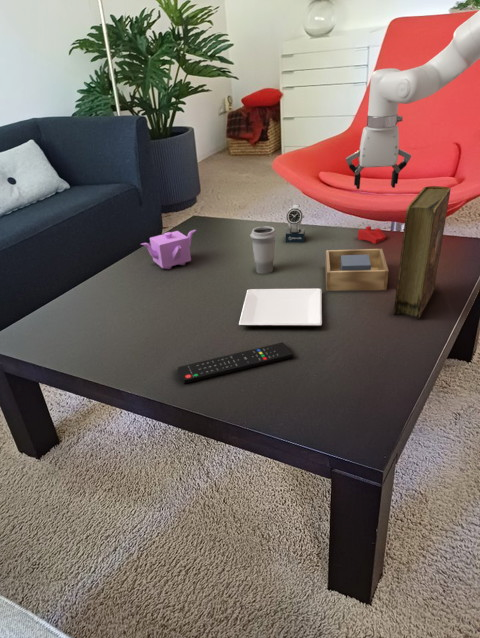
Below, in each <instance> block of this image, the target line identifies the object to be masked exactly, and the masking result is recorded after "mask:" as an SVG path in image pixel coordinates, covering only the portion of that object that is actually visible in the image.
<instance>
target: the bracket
mask: <svg viewBox="0 0 480 638" xmlns="http://www.w3.org/2000/svg"><path fill="white" fill-rule="evenodd" d="M386 238H387V236H386V235H385V234H384V232H383V231H382V229H381V228H379V227H376V228H374V230H373V229H372V226H371V225H367V226H366V227H365V229H362V228H360V229H358V230H357V240H359V241H367V242H371V243H372V244H374V245H377V244H378V243H380V242H382V241H385V240H386Z"/></svg>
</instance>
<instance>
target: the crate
mask: <svg viewBox="0 0 480 638" xmlns="http://www.w3.org/2000/svg"><path fill="white" fill-rule="evenodd" d="M341 255H369V259H370V263H371V270H357V271H340V263H341ZM324 269H325V291H327V292H333V291H334V292H337V291H338V292H339V291H340V292H341V291H342V292H343V291H346V292H347V291H387V290H388V283H389V282H388V279H389V273H390V272H389V267H388V263H387V261H386V257H385V254H384V250H383V248H362V249H360V248H358V249H357V248H356V249H329V250H328V249H327V250H325V263H324Z"/></svg>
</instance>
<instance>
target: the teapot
mask: <svg viewBox="0 0 480 638" xmlns="http://www.w3.org/2000/svg"><path fill="white" fill-rule="evenodd" d="M196 231H197V229H192V230H190V231H189V232H188V233H187V235H185V234H183V233H182V232H181V231H179V230H174V231H167V232H165V233H163V234H158V235H155V236H151V237H149V243H148V242H142V243H140V244H139V245H141V246H143V247H145V248H146V249H147V251H148V253H149V255H150V256H151V257H152V261H153V262H154V263H156V265H158V266H159V267H160V268H161V269H165V270H170V269H172V267H173V266H177V265H179V266H185V265H186V263H188V262H191V261H192V257H191V249H190V248H191V245H192V238H193V234H194V233H195V232H196Z"/></svg>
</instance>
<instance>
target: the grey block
mask: <svg viewBox="0 0 480 638" xmlns="http://www.w3.org/2000/svg"><path fill="white" fill-rule="evenodd" d="M357 270H371V263H370V259H369V255H341V263H340V271H357Z"/></svg>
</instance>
